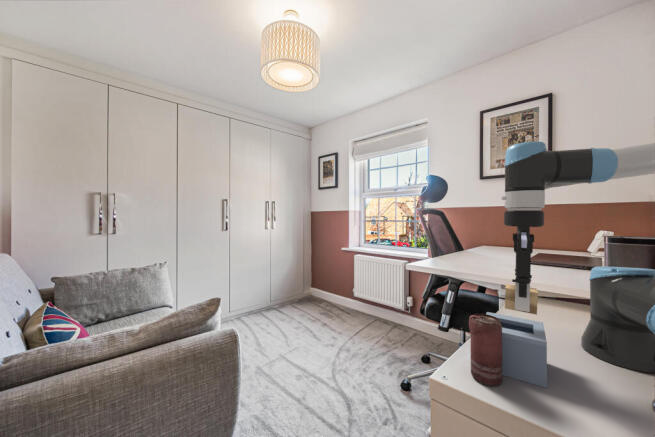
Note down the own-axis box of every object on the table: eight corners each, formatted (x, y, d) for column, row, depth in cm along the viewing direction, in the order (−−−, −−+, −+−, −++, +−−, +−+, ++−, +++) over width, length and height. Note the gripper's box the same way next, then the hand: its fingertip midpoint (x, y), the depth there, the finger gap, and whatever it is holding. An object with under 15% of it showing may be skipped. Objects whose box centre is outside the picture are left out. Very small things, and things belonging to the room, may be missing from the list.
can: (467, 367, 62) (467, 311, 62) (498, 373, 60) (497, 314, 60) (471, 383, 56) (471, 321, 56) (505, 390, 54) (505, 325, 54)
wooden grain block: (535, 309, 61) (536, 288, 61) (536, 314, 58) (537, 292, 58) (504, 303, 64) (505, 284, 64) (504, 308, 61) (505, 287, 61)
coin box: (543, 361, 64) (542, 322, 64) (546, 388, 54) (546, 342, 54) (487, 347, 71) (486, 311, 71) (481, 368, 62) (481, 327, 62)
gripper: (504, 209, 69) (503, 294, 70) (503, 209, 56) (501, 315, 56) (540, 209, 65) (538, 300, 66) (548, 209, 51) (546, 324, 52)
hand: (521, 307), depth 61 cm, fingers closed on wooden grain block, 4 cm apart
